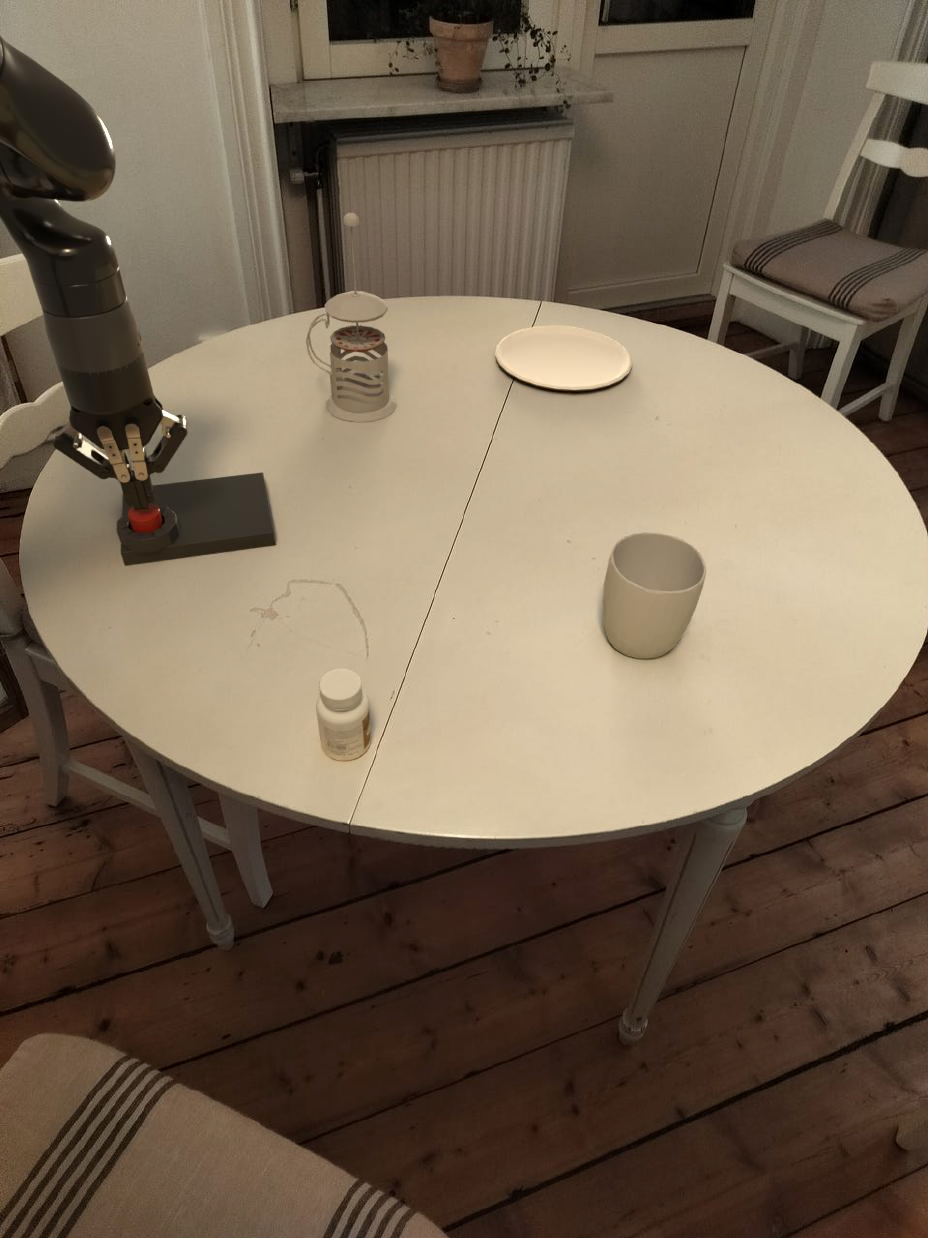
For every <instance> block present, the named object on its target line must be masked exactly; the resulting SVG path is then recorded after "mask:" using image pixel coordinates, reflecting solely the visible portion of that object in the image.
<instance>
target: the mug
mask: <svg viewBox="0 0 928 1238" xmlns="http://www.w3.org/2000/svg"><path fill="white" fill-rule="evenodd" d="M706 575H707V568H706V563H705V560H704V558H703V556H702V554H701V553H700V552H699V550H698V549H697V548H696V547H695V546H694V545H692V544H690V543H689V542H687V541H686V540H684V539H682V538H680V537H678V536H674V535H670V534H666V533H661V532H647V531H646V532H645V531H643V532H635V533H631V534H628V535H626V536H624V537H621V538H620V539H618V540H617V542H616V543H615V544H614V545H613V547H612V549H611V552H610V554H609V558H608V562H607V566H606V570H605V576H604V583H603V592H602V620H603V625H604V626H603V627H604V631H605V635H606V636H607V638H608V642H609V643H610V644H611V646H612V647H613V648H614V649H615V650H617V652H619V653H621V654H623V655H625V656H627V657H631V658H635V659H655V658H659V657H662V656H663V655H665V654H667V653H668V652H670V651H671V650H672V649H673V648H674V647H675V646H676V645H678V643H679V641H680V639H681V638H682V637H683V635H684V633H685V632H686V630H687V628H688V627H689V624H690V622H691V620H692V617H693V615H694V614H695V611H696V608H697V606H698V603H699V600H700V597H701V594H702V591H703V588H704V583H705V581H706Z"/></svg>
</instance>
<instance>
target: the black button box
mask: <svg viewBox="0 0 928 1238" xmlns="http://www.w3.org/2000/svg"><path fill="white" fill-rule="evenodd" d="M152 485H153V489H154V502H153V503H151V504H154V505H156V506H158V508H159V510H160V514H161V517H162V521H163V524H162V526H161V528H159V529H157V530H155V531H153V532H149V533H137V532H135V531H133V529H132V527H131V524H130V520H129V517H128V512H129V510H130V509H131V508H132V507H134V506H129V505H128V504H127V503H126V501H125V498H124V494H123V493H122V501H121V503H122V504H121V516H120V518H119V519H118V520H116V533H117V537H118V540H119V543H120V556H121V559H122V562H123V565H124V566H126V567H127V566H132V565H139V564H145V563H155V562H162V561H168V560H169V561H170V560H176V559H184V558H191V557H198V556H206V555H212V554H213V555H214V554H220V553H226V552H235V551H242V550H249V549H256V548H264V547H265V548H266V547H272V546H276V545H277V544H276V537H275V536H276V535H275V530H274V524H273V520H272V513H271V509H270V503H269V497H268V492H267V486H266V480H265V474H264V472H254V473H246V474H236V475H229V476H220V477H212V478H204V479H196V480H195V479H194V480H186V481H185V480H184V481H178V482H169V483H161V484H152Z"/></svg>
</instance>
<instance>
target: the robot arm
mask: <svg viewBox="0 0 928 1238" xmlns="http://www.w3.org/2000/svg"><path fill="white" fill-rule="evenodd" d="M116 160H117V159H116V152H115V147H114V143H113V140H112V138H111V136H110V133H109V131H108V129H107V127H106V124H105V123H104V121H103V120H102V119H101V117H100V115H99V114H98V113H97V112H96V110H95V109H94V108H93V106H92V105H91V104H90V103H89V102H88V101H87V100H86V99H85V98H84V97H83V96H82V95H81V94H80V93H79V92H78V91H76V90H75V89H74V88H72V87H71V86H70V85H68V84H67V83H66V82H65V81H64V80H62V79H60V77H58V76H57V75H55V74H54V73H52V71H49V70H48V69H47V68H45V67H44V66H43V65H41V64H40V63H38V62H37V61H36V60H34V59H33V58H32V57H30V56H29V55H27V54H26V53H24V52H22V51H20V50H19V49H18V48H16V47H15V46H13V45H12V44H10V43H8V42H7V41H6V40H5V39H4V38H3V37H2V36H1V35H0V220H1V223H2V224H3V225H4V227H5V229H6V231H7V232H8V233H9V235H10V237H11V239H12V240H13V241H14V243H15V245H16V246H17V248H18V249H19V251H20V252H21V254H22V255H23V257H24V259H25V261H26V263H27V267H28V270H29V273H30V276H31V280H32V283H33V286H34V289H35V292H36V296H37V299H38V301H39V305H40V307H41V311H42V315H43V321H44V327H45V332H46V336H47V339H48V342H49V344H50V349H51V351H52V354H53V357H54V361H55V364H56V367H57V370H58V372H59V375H60V379H61V382H62V385H63V388H64V391H65V394H66V397H67V400H68V403H69V406H70V410H69V416H68V421H69V422H67V423H66V424H65V425H64V426H58V427H56V428H55V431H54V438H53V447H54V449H56V450H57V451H58V452H60V453H62V454H63V455H64V456H66V457H68V458H69V459H70V460H72V461H73V462H75V463H76V464H78V465H79V466H81V467H82V468H84V469H85V470H87V471H88V472H89V473H91V474H92V475H94V476H96V477H97V478H98V479H100V480H108V479H109V478H110V479H115V480H117V482H118V483H119V484H120V488H121V492H122V495H123V494H124V498H125V501H126V503H127V504H128V505H129V506H134V509H135V510H142V509H150V503H153V502H154V489H153V485H154V484H153V481H152V478H151V476H152V475H153V474H162V473H164V472H165V470H166V468H167V467H168V465H169V464H170V462H171V461H172V459H173V457H174V456H175V454H176V453H177V451H178V450H179V448H180V446H181V445H182V444H183V442H184V440H185V438H186V437H187V436H188V421H187V418H186V416H185V415H183V414H177V415H174V414H171V413H169V412H167V411H165V410H164V406H163V404H162V403H161V401H160V400H159V399H158V398H157V397H156V395H155V393H154V390H153V386H152V381H151V378H150V374H149V369H148V366H147V362H146V357H145V354H144V349H143V344H142V337H141V333H140V331H139V329H138V325H137V322H136V319H135V315H134V313H133V311H132V308H131V306H130V303H129V300H128V298H127V294H126V289H125V286H124V282H123V277H122V273H121V270H120V267H119V261H118V257H117V254H116V250H115V247H114V244H113V242H112V240H111V237H110V236H109V235H108V233H107V232H105V230H103V229H102V228H100V227H98V226H96V225H94V224H92V223H89V222H86V221H85V220H82V219H80V218H77V217H76V216H73V215H72V214H71V213H69V212H68V211H66V210H65V209H64V208H63V206H62V205H61V203H60V202H59V201H61V202H63V201H64V202H72V203H85V202H86V203H87V202H91V201H94V200H97V199H98V198H100V197H102V196H103V195H104V194H105V193H107V191H109V188H110V187H111V185H112V183H113V181H114V178H115V174H116V170H117V169H116V168H117V165H116V164H117V163H116V162H117V161H116ZM160 424H161V434H162V437H161V438H160V440H159V441H158V443H157V445H156V447H155V448H154V450H153V451H152V453H151V454H149V455H147V451H146V446H147V445H148V444H149V443H150V442H151V440H152V438H153V437H154V435H155V433H156V431H157V429H158V427H159V426H160ZM84 437H85V438H86V439H87V440H88V441H90V442H91V443H92V444H94V445H95V446H96V447H97V448H98V449H99V448H100V449H101V450H103V451H105V454H106V455H105V454H104V453H102V452H101V451H100V450H98V449H97V448H95V447H94V446H93V445H91V444H90V443H88V442H87V441H85V440H84ZM126 450H128V451H129V454H130V459H131V461H130V459H129V456H128V454H127V451H126ZM131 462H132V465H131ZM131 466H132V467H133V469H132V467H131Z"/></svg>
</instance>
